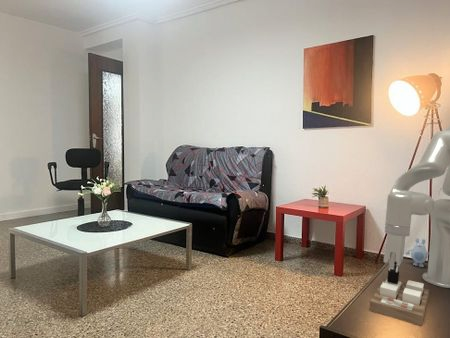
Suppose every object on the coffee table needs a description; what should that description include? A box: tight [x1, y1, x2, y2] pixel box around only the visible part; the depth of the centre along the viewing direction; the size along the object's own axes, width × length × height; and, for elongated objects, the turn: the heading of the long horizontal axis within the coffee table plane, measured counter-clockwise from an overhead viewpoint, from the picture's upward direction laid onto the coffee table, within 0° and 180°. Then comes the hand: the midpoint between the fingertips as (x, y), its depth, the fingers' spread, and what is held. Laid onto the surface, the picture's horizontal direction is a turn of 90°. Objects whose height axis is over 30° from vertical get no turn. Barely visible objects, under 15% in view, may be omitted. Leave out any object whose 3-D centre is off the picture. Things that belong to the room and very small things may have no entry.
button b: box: [405, 279, 425, 296], centre depth 112 cm, size 5×5×3 cm
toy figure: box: [404, 237, 429, 268], centre depth 145 cm, size 11×6×12 cm, turn 56°
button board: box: [369, 278, 430, 327], centre depth 109 cm, size 22×14×4 cm, turn 145°
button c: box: [379, 282, 398, 299], centre depth 109 cm, size 5×5×3 cm
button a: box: [385, 278, 403, 291], centre depth 116 cm, size 5×5×3 cm
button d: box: [402, 288, 421, 306], centre depth 106 cm, size 5×5×3 cm
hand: (392, 282), depth 116 cm, fingers closed
